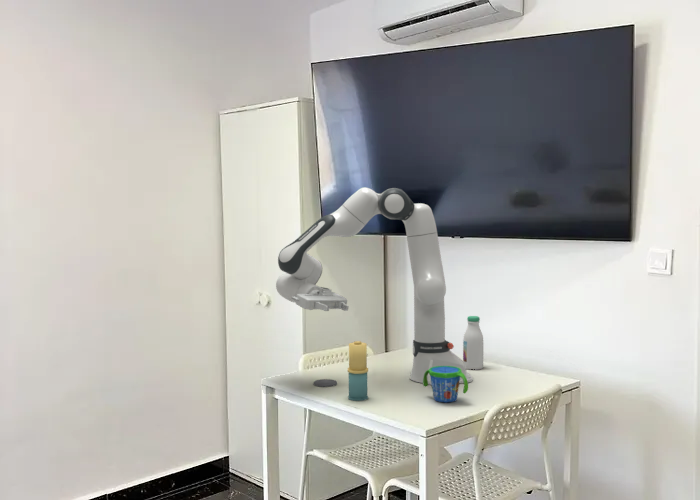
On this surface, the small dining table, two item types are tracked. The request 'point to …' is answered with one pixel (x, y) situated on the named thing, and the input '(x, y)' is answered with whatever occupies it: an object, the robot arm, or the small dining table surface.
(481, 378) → the small dining table surface
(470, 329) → the milk bottle
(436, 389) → the snack cup
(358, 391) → the canister
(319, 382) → the mat
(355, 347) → the tan cylinder
